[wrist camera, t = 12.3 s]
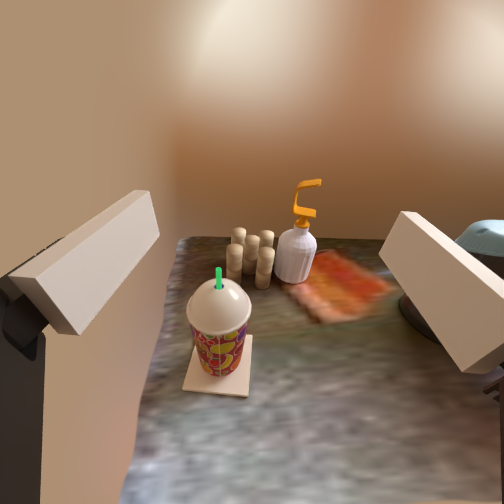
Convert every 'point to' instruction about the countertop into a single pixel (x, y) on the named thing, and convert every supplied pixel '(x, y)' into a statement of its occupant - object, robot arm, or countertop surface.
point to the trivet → (224, 385)
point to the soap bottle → (297, 243)
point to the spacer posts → (250, 256)
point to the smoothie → (219, 324)
